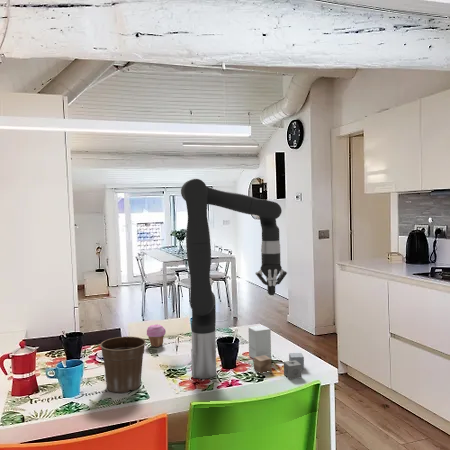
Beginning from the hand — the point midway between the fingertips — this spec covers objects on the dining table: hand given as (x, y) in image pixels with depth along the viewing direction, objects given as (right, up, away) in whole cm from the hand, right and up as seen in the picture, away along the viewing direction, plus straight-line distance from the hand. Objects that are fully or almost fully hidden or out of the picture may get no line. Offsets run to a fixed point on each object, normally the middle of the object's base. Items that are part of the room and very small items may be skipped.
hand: (271, 295), depth 176 cm
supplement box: (-4, -29, +13) cm, 32 cm away
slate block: (+10, -29, 0) cm, 31 cm away
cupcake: (-51, -29, +31) cm, 66 cm away
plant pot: (-55, -31, -15) cm, 65 cm away
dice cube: (+7, -30, -9) cm, 32 cm away
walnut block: (-4, -29, -3) cm, 30 cm away
